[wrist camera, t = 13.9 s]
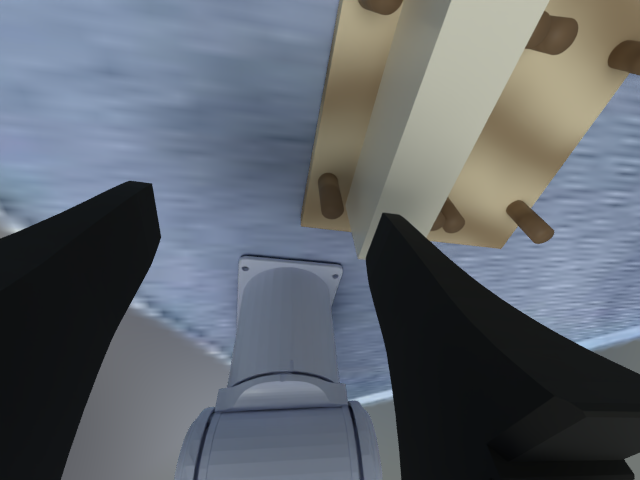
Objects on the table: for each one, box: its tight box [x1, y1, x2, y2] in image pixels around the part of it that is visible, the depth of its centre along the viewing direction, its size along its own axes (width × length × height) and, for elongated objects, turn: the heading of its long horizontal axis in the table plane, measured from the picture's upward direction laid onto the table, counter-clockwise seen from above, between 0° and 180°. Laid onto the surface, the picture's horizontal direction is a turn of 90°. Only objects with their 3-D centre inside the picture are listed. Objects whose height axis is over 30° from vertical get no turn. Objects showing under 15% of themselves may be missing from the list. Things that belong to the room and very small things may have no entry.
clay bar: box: [345, 0, 550, 260], centre depth 14 cm, size 12×3×5 cm, turn 169°
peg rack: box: [301, 0, 640, 249], centre depth 16 cm, size 16×15×4 cm
